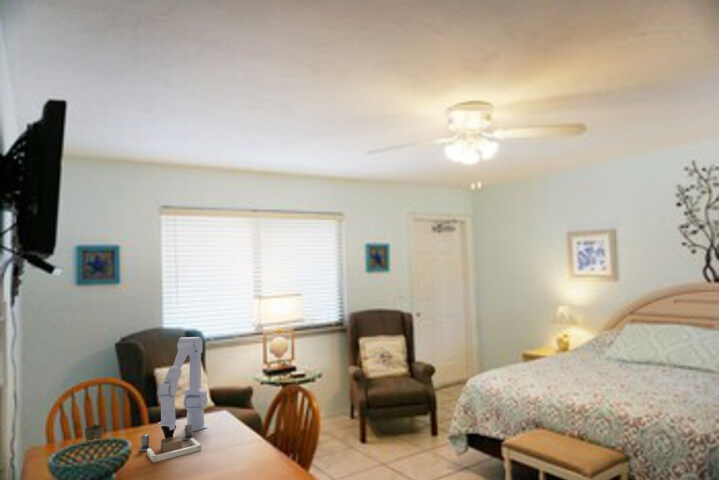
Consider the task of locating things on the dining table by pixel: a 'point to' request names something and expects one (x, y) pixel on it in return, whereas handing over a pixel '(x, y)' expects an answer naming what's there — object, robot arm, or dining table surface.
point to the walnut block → (171, 444)
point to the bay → (174, 452)
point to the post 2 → (188, 433)
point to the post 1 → (144, 443)
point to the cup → (94, 432)
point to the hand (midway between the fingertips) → (168, 442)
